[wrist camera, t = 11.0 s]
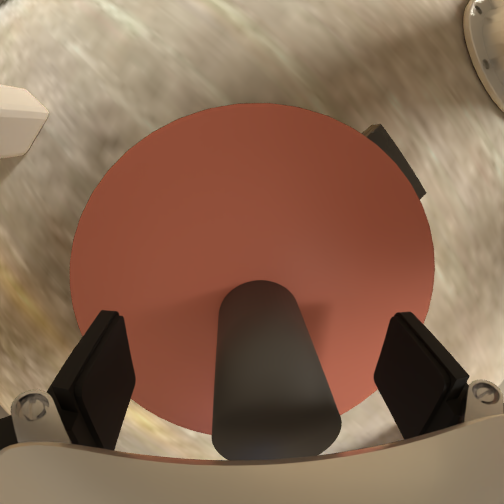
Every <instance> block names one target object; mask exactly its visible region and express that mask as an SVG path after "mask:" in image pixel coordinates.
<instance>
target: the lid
mask: <svg viewBox="0 0 504 504" xmlns="http://www.w3.org/2000/svg"><path fill="white" fill-rule="evenodd" d="M434 271H435V265H434V247H433V242H432V236H431V231H430V226H429V223H428V220H427V217H426V215H425V212H424V209H423V206H422V204H421V202H420V200H419V198H418V196H417V194H416V192H415V190H414V188H413V187H412V185H411V183H410V182H409V180H408V179H407V178H406V176H405V175H404V174H403V172H402V171H401V170H400V168H399V167H398V166H397V164H396V163H395V162H394V161H393V160H392V159H391V158H390V157H389V156H388V155H387V154H386V153H385V152H384V151H383V150H382V149H381V148H380V147H379V146H377V145H376V144H375V143H374V142H372V141H371V140H369V139H368V138H367V137H365V136H364V135H362V134H361V133H359V132H358V131H357V130H355V129H353V128H351V127H349V126H347V125H345V124H343V123H341V122H339V121H337V120H335V119H333V118H331V117H329V116H326V115H323V114H320V113H317V112H313V111H310V110H307V109H303V108H300V107H293V106H287V105H279V104H272V103H244V104H233V105H227V106H221V107H216V108H210V109H206V110H203V111H200V112H197V113H194V114H191V115H188V116H185V117H182V118H179V119H177V120H175V121H173V122H171V123H169V124H167V125H165V126H164V127H162V128H160V129H158V130H156V131H154V132H152V133H151V134H149V135H148V136H147V137H145V138H144V139H143V140H141V141H140V142H138V143H137V144H136V145H134V146H133V147H132V148H131V149H129V150H128V151H127V152H126V153H125V154H124V155H123V156H122V157H121V158H120V159H119V160H118V161H117V162H116V163H115V164H114V165H113V166H112V167H111V168H110V169H109V170H108V172H107V173H106V174H105V176H104V177H103V178H102V180H101V181H100V183H99V184H98V186H97V187H96V188H95V190H94V191H93V193H92V195H91V197H90V199H89V200H88V203H87V205H86V207H85V209H84V211H83V213H82V215H81V217H80V220H79V223H78V227H77V230H76V233H75V236H74V240H73V246H72V252H71V259H70V290H71V297H72V304H73V309H74V313H75V316H76V319H77V323H78V326H79V329H80V331H81V334H82V336H84V334H85V333H86V331H87V330H88V328H89V327H90V325H91V324H92V323H93V321H94V320H95V318H96V317H97V315H98V314H99V313H100V311H101V310H108V311H117V312H118V313H119V316H123V317H124V321H125V326H126V332H127V338H128V343H129V348H130V353H131V358H132V363H133V367H134V372H135V377H136V383H135V387H134V390H133V393H132V396H131V399H132V400H134V401H135V402H136V403H138V404H139V405H140V406H142V407H143V408H145V409H146V410H148V411H150V412H151V413H153V414H155V415H157V416H158V417H160V418H162V419H165V420H167V421H169V422H171V423H173V424H176V425H178V426H181V427H184V428H187V429H190V430H193V431H197V432H201V433H205V434H210V435H212V443H213V445H214V447H215V449H216V450H217V452H218V453H219V454H220V455H222V456H223V457H224V458H226V459H227V460H272V459H287V458H299V457H309V456H317V455H319V454H321V453H322V452H323V451H325V450H326V449H327V448H328V447H329V446H331V444H332V443H333V442H334V441H335V440H336V438H337V437H338V435H339V433H340V430H341V423H342V422H341V417H340V415H342V414H343V413H345V412H347V411H348V410H350V409H352V408H353V407H355V406H356V405H358V404H360V403H361V402H362V401H363V400H365V399H366V398H367V397H369V396H370V395H371V394H372V393H374V392H375V391H376V390H377V389H378V388H377V386H376V384H375V382H374V372H375V368H376V365H377V362H378V359H379V356H380V353H381V350H382V346H383V343H384V339H385V336H386V332H387V329H388V325H389V322H390V319H391V317H394V315H395V314H396V313H397V312H412V313H413V314H414V315H415V316H416V317H417V318H418V319H419V320H420V321H421V322H422V323H424V321H425V318H426V315H427V312H428V309H429V305H430V300H431V296H432V291H433V283H434Z"/></svg>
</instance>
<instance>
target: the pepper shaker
mask: <svg viewBox="0 0 504 504" xmlns="http://www.w3.org/2000/svg"><path fill="white" fill-rule="evenodd" d="M48 115H49V113H48V111H47V109H46V108H45V107H44V106H43V105H42V104H41V103H40V102H39V101H38V100H37V99H36V98H35V97H34V96H33V95H32V94H31V93H30V92H28V91H27V90H26V89H23V88H18V87H12V86H6V85H0V159H1V158H8V157H15V156H22V155H24V154H25V153H26V152H27V151H28V150H29V148H30V146H31V145H32V143H33V141H34V139H35V138H36V136H37V134H38V133H39V131H40V129H41V128H42V126H43V125H44V123H45V121H46V120H47V118H48Z"/></svg>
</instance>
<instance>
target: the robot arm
mask: <svg viewBox="0 0 504 504" xmlns="http://www.w3.org/2000/svg"><path fill="white" fill-rule="evenodd" d="M463 27H464V35H465V40H466V44H467V48H468V52H469V54H470V57H471V60H472V63H473V65H474V68H475V70H476V72H477V74H478V77H479V78H480V80H481V82H482V84H483V86H484V87H485V89H486V91H487V92H488V94H489V95H490V97H491V98H492V100H493V101H494V102H495V103H496V104H497V106H498V107H499V108H500V109H501V110H502V111H503V112H504V0H471V1H469V3H468V4H467V6H466V7H465V12H464V17H463ZM468 378H469V375H468V374H467V373H466V371H465V370H464V369H463V368H462V367H461V366H460V364H459V363H458V362H457V361H456V360H455V359H454V358H453V356H452V355H451V354H450V353H449V352H448V351H447V350H446V349H445V347H444V346H443V345H442V344H441V343H440V342H439V341H438V340H437V339H436V338H435V336H434V335H433V334H432V333H431V332H430V331H429V330H428V329H427V328H426V327H425V326H424V325H423V323H422V322H421V321H420V320H419V319H418V318H417V317H416V316H415V315H414V314H413V313H412V312H397V313H396V314H395V315H394V317H391V319H390V322H389V325H388V329H387V332H386V336H385V339H384V343H383V346H382V350H381V353H380V356H379V359H378V362H377V365H376V368H375V372H374V382H375V384H376V386H377V388H378V390H379V392H380V394H381V395H382V397H383V399H384V401H385V403H386V405H387V407H388V409H389V411H390V412H391V414H392V416H393V418H394V420H395V422H396V424H397V426H398V428H399V430H400V432H401V434H402V436H403V438H404V439H405V440H401V441H397V442H393V443H388V444H384V445H379V446H374V447H369V448H364V449H358V450H353V451H347V452H340V453H334V454H326V455H318V456H309V457H299V458H287V459H272V460H196V459H181V458H169V457H159V456H150V455H141V454H134V453H126V452H120V451H114V449H115V446H116V442H117V439H118V436H119V433H120V430H121V426H122V423H123V420H124V417H125V414H126V411H127V408H128V405H129V402H130V399H131V396H132V393H133V390H134V387H135V383H136V377H135V372H134V367H133V363H132V358H131V353H130V348H129V343H128V338H127V332H126V326H125V321H124V317H123V316H119V313H118V312H117V311H108V310H101V311H100V313H99V314H98V315H97V317H96V318H95V320H94V321H93V323H92V324H91V325H90V327H89V328H88V330H87V331H86V333H85V334H84V336H83V337H82V339H81V340H80V342H79V343H78V345H77V346H76V347H75V348H74V350H73V351H72V353H71V354H70V356H69V357H68V359H67V360H66V362H65V364H64V365H63V367H62V368H61V370H60V371H59V373H58V375H57V376H56V378H55V379H54V381H53V383H52V384H51V386H50V388H49V389H48V391H47V392H45V391H42V390H29V391H26V392H23V393H21V394H20V395H19V396H17V397H16V398H15V400H14V401H13V403H12V405H11V415H10V416H8V417H5V418H2V419H0V504H504V403H503V394H502V392H501V390H500V389H499V388H498V387H497V386H496V385H495V384H493V383H492V382H489V381H487V380H475V381H473V382H472V383H471V384H470V385H468V384H467V383H466V382H467V380H468Z"/></svg>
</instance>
